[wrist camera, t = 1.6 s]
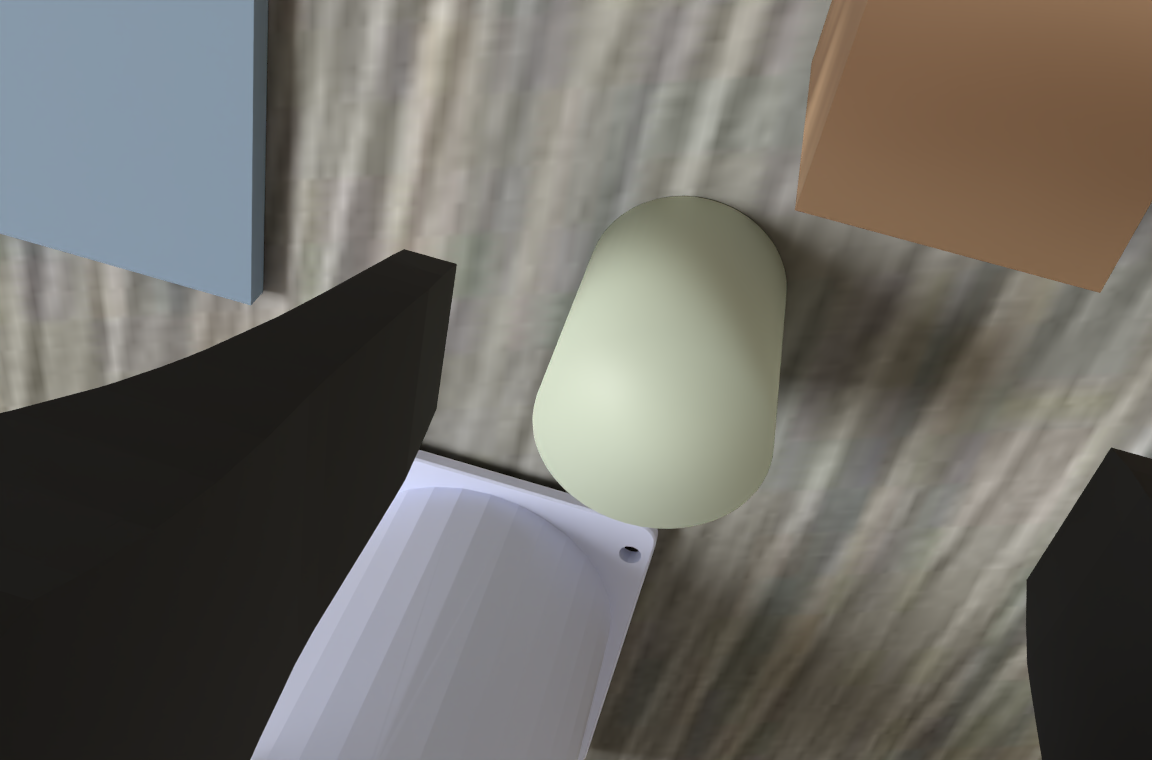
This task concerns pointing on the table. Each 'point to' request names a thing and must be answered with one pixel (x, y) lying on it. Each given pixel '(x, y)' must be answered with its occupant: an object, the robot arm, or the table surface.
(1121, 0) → the walnut block
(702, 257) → the sage cylinder
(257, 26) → the slate mat
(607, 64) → the table surface
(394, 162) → the table surface
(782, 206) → the table surface
